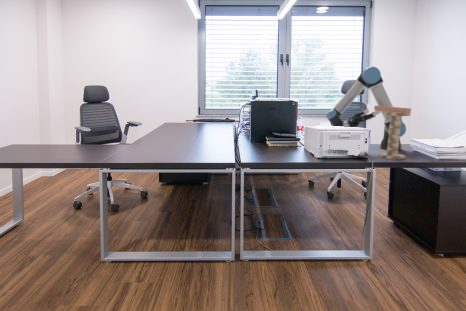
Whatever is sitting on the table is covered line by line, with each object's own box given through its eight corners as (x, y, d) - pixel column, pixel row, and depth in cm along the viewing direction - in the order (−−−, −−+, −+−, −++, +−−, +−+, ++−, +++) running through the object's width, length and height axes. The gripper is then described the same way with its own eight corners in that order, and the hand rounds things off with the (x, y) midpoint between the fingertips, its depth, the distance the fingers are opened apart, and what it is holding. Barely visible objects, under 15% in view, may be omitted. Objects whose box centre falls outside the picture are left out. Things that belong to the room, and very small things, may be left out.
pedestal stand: (378, 156, 279) (383, 111, 274) (389, 155, 286) (393, 111, 281) (394, 159, 270) (399, 113, 264) (405, 158, 277) (410, 112, 271)
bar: (374, 110, 284) (374, 105, 283) (377, 110, 286) (378, 105, 285) (407, 113, 265) (407, 108, 264) (410, 113, 267) (411, 108, 266)
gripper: (364, 127, 308) (387, 115, 291) (341, 128, 293) (364, 115, 277) (360, 118, 310) (383, 105, 293) (337, 119, 295) (360, 105, 279)
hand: (374, 110), depth 285 cm, fingers open, 13 cm apart
